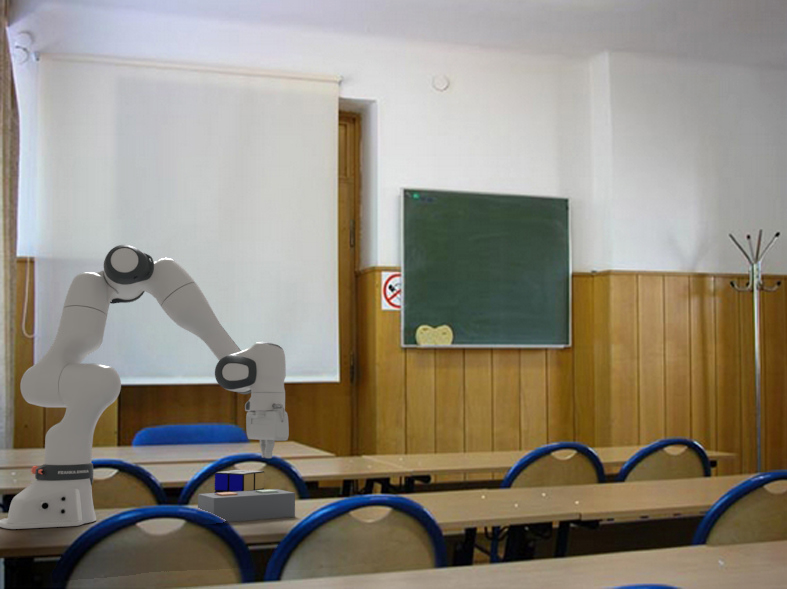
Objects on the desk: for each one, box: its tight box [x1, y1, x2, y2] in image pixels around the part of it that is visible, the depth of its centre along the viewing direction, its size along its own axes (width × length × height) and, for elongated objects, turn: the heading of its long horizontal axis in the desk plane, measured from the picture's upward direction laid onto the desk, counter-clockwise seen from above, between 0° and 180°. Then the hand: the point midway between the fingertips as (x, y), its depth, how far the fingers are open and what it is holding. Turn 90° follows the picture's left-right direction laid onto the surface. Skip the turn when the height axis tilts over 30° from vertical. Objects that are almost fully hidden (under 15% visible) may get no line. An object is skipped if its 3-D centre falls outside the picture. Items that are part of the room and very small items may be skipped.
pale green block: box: [256, 488, 277, 494], centre depth 241 cm, size 4×4×6 cm
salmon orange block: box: [216, 492, 238, 496], centre depth 235 cm, size 4×4×6 cm
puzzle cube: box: [214, 469, 266, 493], centre depth 257 cm, size 10×10×10 cm
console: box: [197, 488, 296, 523], centre depth 238 cm, size 22×11×6 cm, turn 122°
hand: (266, 458), depth 240 cm, fingers closed
